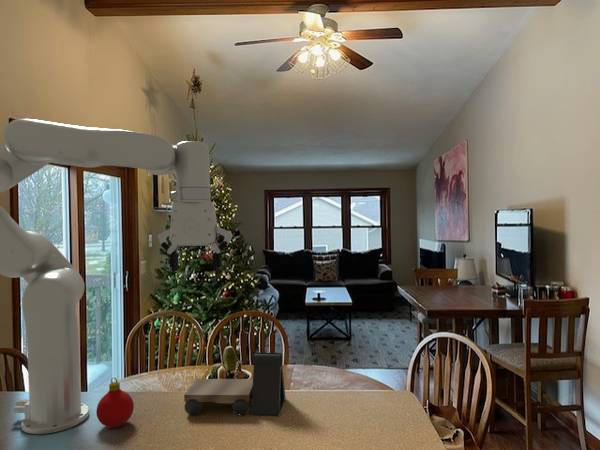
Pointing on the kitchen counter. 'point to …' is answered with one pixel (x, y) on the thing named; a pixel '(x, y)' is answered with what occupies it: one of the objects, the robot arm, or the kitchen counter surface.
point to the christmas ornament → (115, 406)
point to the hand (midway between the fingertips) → (195, 270)
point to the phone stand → (267, 384)
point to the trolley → (219, 394)
